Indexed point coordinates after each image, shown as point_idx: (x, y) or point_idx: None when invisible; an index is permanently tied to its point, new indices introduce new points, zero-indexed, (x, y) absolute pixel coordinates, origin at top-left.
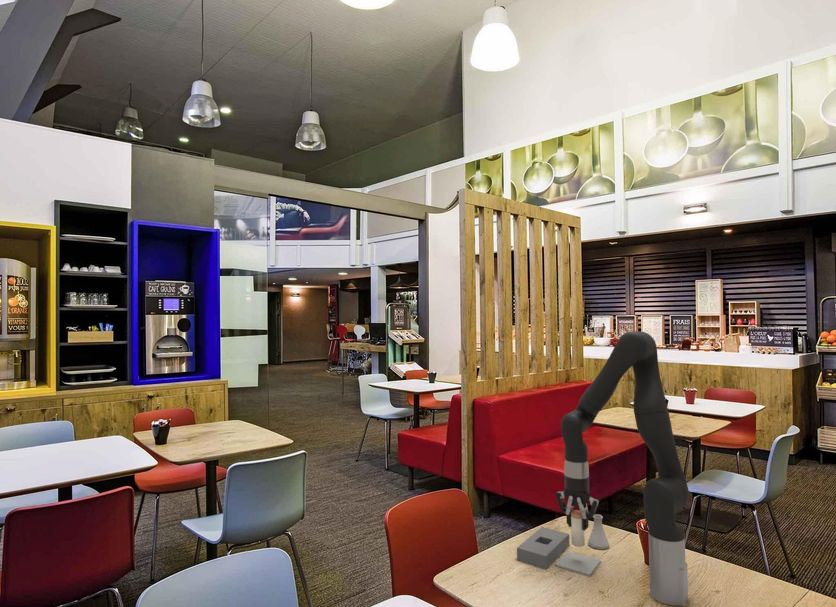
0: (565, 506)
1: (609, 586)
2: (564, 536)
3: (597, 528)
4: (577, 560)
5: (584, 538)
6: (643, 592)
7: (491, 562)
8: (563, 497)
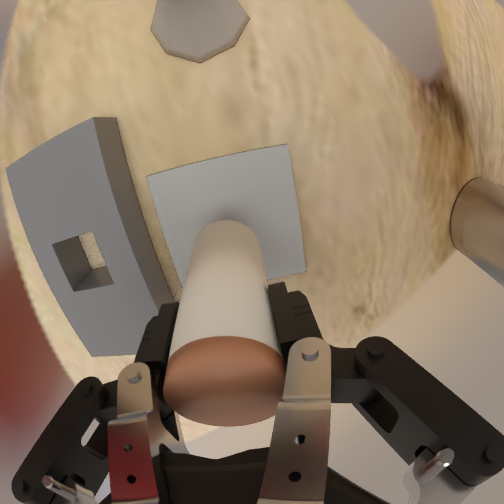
0: (97, 410)
1: (369, 274)
2: (95, 160)
3: (195, 4)
4: (221, 217)
5: (261, 256)
6: (438, 236)
7: (92, 368)
8: (91, 500)
